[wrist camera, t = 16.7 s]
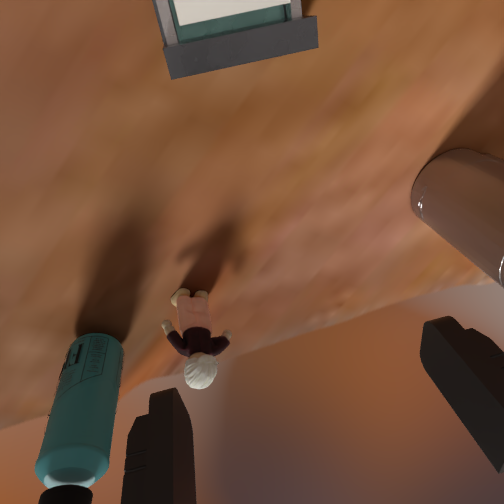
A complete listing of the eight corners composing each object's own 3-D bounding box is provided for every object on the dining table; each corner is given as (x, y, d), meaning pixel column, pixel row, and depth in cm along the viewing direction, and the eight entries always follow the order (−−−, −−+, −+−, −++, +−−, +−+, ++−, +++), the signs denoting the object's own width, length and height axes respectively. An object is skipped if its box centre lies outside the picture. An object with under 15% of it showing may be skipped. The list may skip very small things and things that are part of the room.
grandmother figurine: (162, 310, 45) (159, 400, 35) (163, 285, 43) (160, 372, 33) (224, 310, 47) (239, 395, 37) (227, 286, 45) (244, 369, 35)
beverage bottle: (85, 315, 43) (33, 499, 27) (137, 334, 47) (118, 510, 30) (61, 349, 46) (-1, 540, 29) (111, 366, 49) (81, 546, 32)
